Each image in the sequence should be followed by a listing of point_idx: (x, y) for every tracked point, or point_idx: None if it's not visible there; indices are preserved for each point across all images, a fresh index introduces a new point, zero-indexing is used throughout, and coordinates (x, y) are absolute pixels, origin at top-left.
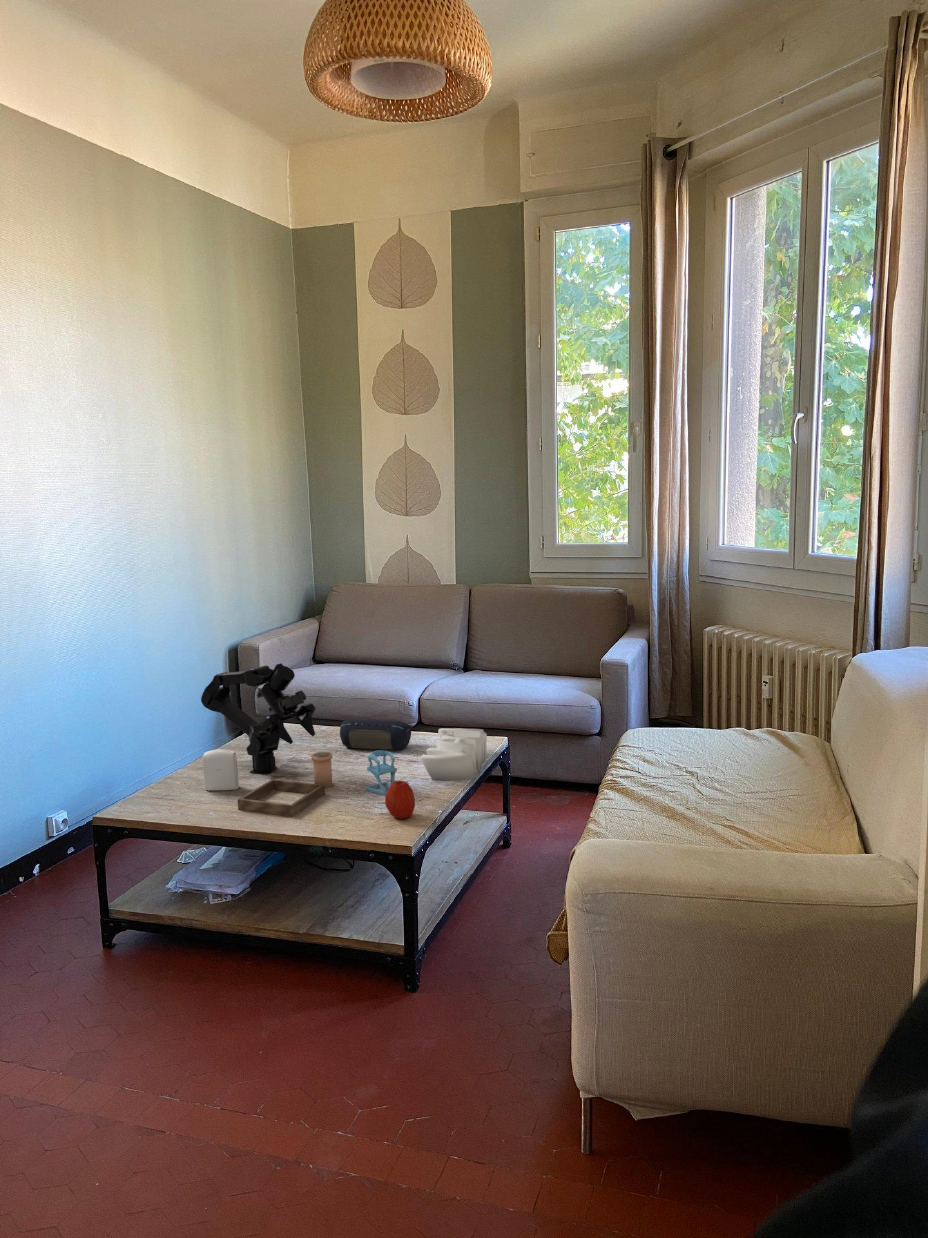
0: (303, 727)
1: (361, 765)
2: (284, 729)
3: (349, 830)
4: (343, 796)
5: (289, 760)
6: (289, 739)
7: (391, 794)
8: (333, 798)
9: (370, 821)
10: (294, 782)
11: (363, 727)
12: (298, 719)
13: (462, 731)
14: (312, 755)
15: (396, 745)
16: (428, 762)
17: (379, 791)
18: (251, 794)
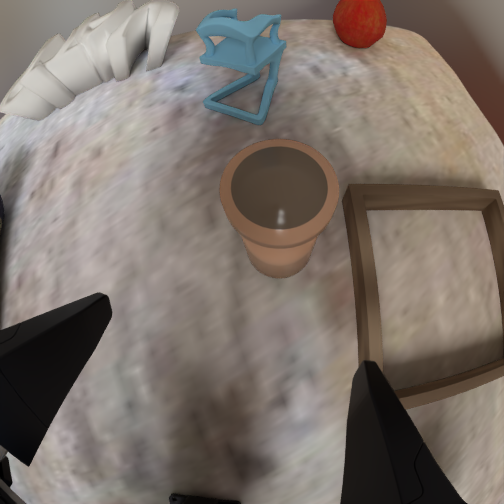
0: (51, 420)
1: (75, 241)
2: (419, 482)
3: (447, 87)
4: (328, 149)
5: (96, 479)
6: (388, 388)
7: (384, 11)
8: (354, 166)
9: (402, 69)
10: (378, 305)
11: None
12: (5, 477)
13: (44, 51)
14: (309, 227)
15: (1, 203)
16: (175, 22)
17: (273, 86)
18: (492, 369)
